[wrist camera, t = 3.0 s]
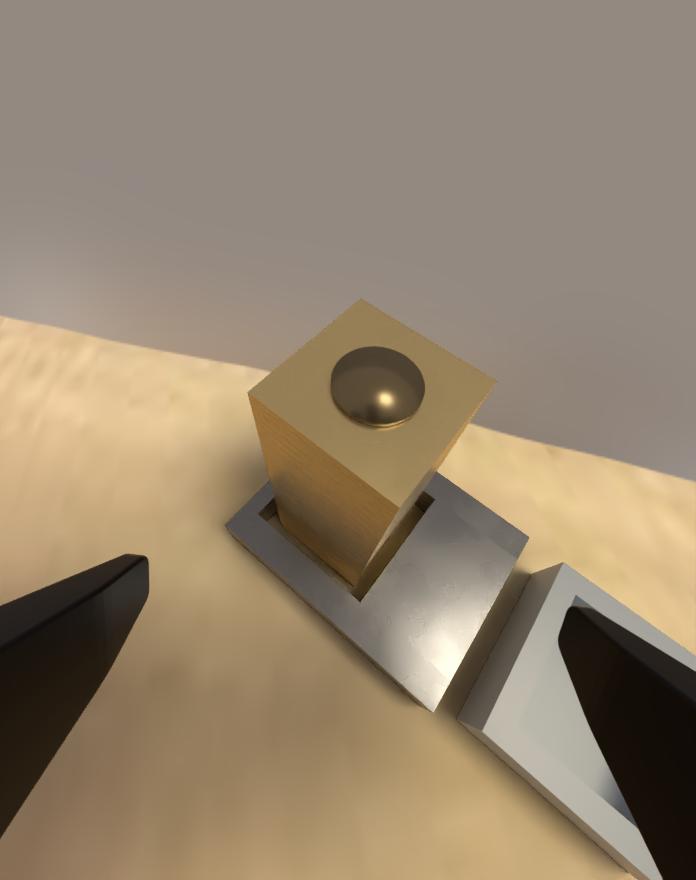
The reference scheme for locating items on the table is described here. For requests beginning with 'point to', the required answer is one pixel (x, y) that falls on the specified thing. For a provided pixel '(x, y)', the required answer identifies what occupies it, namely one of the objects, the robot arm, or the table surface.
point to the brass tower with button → (360, 431)
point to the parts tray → (559, 712)
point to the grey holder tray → (404, 585)
